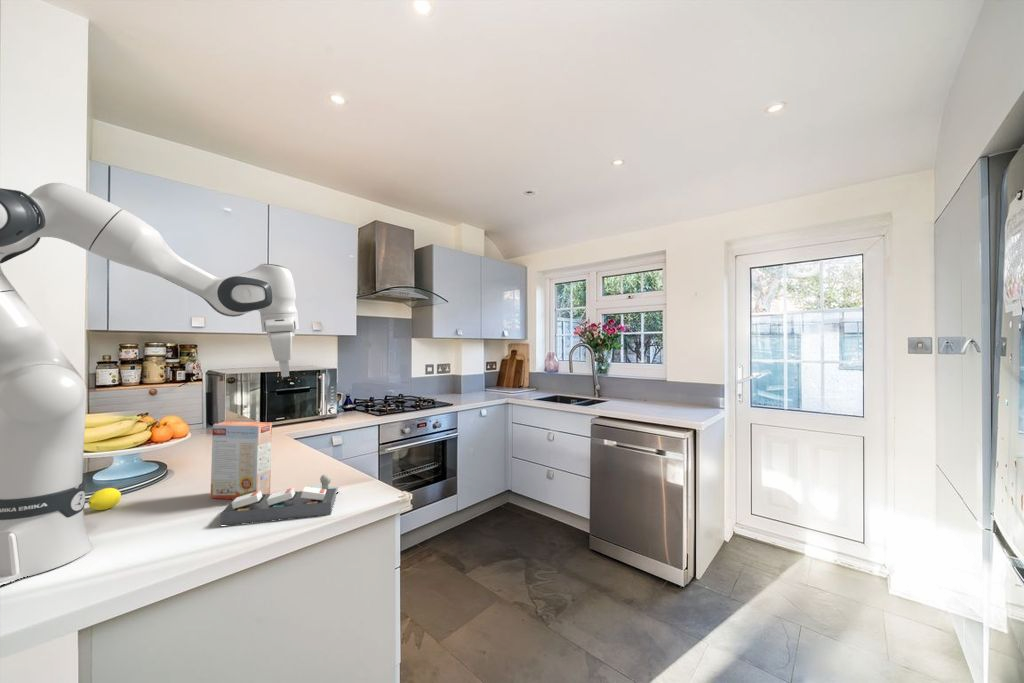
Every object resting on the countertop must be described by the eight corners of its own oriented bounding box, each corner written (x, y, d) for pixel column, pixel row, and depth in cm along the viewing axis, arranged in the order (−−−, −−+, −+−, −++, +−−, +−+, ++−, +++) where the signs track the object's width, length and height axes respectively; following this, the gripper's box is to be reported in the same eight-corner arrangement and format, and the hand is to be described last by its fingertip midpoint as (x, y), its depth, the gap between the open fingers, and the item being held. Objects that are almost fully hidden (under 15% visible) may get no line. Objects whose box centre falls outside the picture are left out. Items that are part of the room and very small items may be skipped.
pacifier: (321, 490, 116) (308, 497, 110) (322, 469, 116) (309, 475, 110) (344, 491, 115) (333, 498, 109) (345, 470, 115) (334, 476, 109)
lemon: (107, 505, 102) (111, 484, 103) (126, 506, 102) (130, 485, 103) (77, 513, 96) (81, 491, 96) (97, 514, 95) (101, 491, 96)
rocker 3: (300, 497, 98) (302, 490, 98) (303, 492, 101) (305, 485, 101) (323, 500, 99) (325, 493, 99) (325, 495, 103) (326, 488, 103)
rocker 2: (268, 505, 95) (266, 499, 95) (272, 500, 99) (270, 493, 99) (292, 498, 97) (290, 491, 97) (295, 493, 100) (293, 486, 100)
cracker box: (271, 493, 112) (273, 421, 112) (255, 501, 106) (257, 425, 106) (227, 490, 113) (229, 419, 114) (209, 498, 107) (211, 423, 108)
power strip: (220, 526, 91) (221, 510, 91) (236, 509, 101) (236, 494, 101) (330, 514, 99) (331, 499, 99) (335, 499, 108) (336, 486, 108)
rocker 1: (233, 509, 93) (231, 502, 93) (238, 503, 96) (236, 497, 96) (258, 501, 95) (256, 494, 95) (262, 496, 98) (260, 489, 98)
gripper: (268, 325, 112) (273, 371, 113) (264, 325, 94) (270, 380, 96) (293, 323, 115) (297, 369, 116) (293, 323, 98) (299, 377, 99)
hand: (285, 374), depth 106 cm, fingers open, 8 cm apart
